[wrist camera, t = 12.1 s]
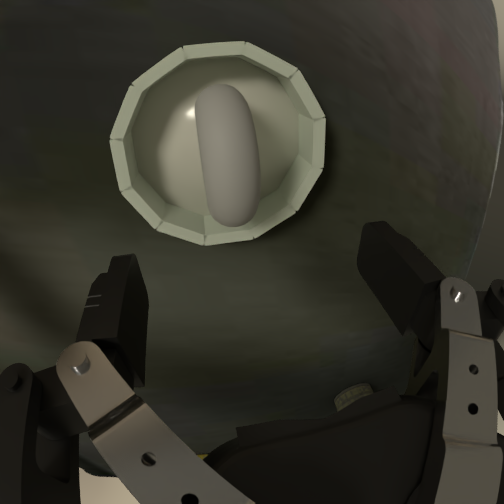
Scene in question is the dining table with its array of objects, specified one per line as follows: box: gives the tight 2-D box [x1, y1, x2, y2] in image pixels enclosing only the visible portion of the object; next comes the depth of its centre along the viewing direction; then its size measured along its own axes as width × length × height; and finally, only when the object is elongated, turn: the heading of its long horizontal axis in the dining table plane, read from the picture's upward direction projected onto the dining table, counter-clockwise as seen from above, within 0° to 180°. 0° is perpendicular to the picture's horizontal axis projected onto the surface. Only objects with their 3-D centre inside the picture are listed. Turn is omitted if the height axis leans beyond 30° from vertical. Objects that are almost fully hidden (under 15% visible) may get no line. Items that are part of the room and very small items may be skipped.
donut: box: [195, 84, 261, 227], centre depth 20 cm, size 10×4×10 cm, turn 4°
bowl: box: [110, 41, 326, 246], centre depth 23 cm, size 16×16×4 cm
